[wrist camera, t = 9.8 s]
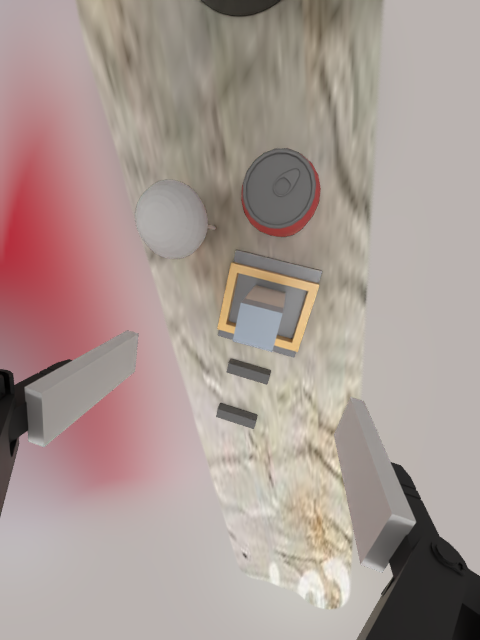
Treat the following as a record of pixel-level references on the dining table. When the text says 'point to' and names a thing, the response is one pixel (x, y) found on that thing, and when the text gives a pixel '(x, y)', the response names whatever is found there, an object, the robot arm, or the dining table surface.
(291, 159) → the beer can
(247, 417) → the dark gray parallel bars
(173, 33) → the dining table surface
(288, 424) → the dining table surface
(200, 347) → the dining table surface
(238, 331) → the plug
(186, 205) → the lollipop
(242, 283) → the panel
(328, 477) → the dining table surface
